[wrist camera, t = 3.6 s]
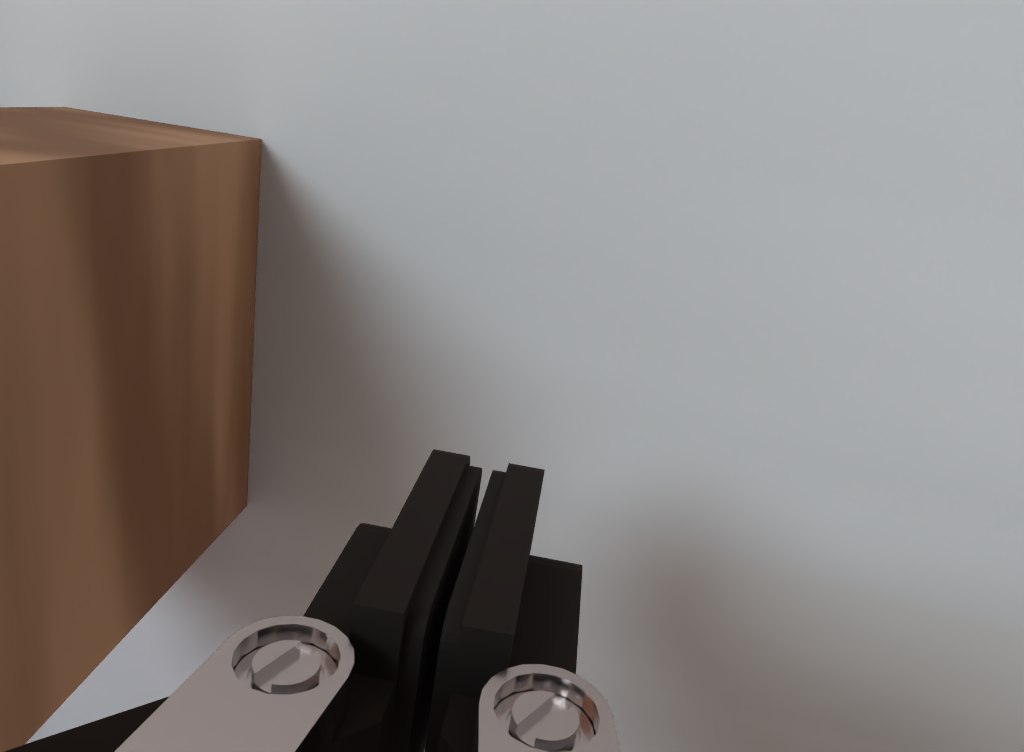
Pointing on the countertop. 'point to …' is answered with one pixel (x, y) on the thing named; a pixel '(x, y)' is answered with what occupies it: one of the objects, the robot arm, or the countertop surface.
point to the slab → (114, 380)
